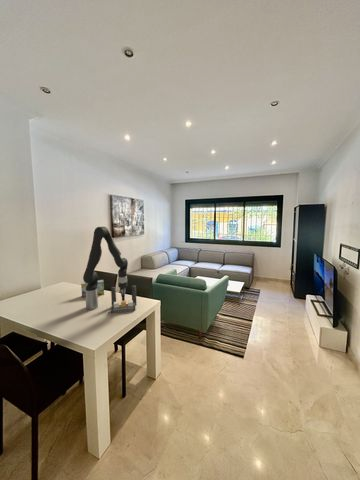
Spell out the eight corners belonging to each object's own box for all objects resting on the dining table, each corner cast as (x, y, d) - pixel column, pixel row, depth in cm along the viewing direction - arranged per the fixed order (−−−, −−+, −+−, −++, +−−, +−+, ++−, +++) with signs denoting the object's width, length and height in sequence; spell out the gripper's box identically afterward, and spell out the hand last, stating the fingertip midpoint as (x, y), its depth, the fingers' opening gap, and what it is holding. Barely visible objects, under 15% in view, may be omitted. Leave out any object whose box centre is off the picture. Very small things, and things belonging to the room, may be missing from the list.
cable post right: (132, 305, 180) (131, 287, 178) (132, 304, 184) (131, 285, 182) (136, 305, 181) (135, 286, 179) (136, 303, 185) (135, 285, 183)
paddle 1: (113, 307, 168) (113, 303, 167) (114, 305, 172) (114, 302, 171) (118, 307, 169) (118, 303, 168) (119, 305, 172) (118, 301, 172)
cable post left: (111, 308, 176) (110, 288, 174) (112, 306, 180) (111, 287, 178) (116, 307, 177) (115, 288, 175) (116, 305, 181) (115, 286, 179)
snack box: (81, 297, 199) (81, 283, 197) (82, 295, 204) (81, 281, 202) (104, 294, 207) (103, 281, 205) (104, 292, 212) (103, 279, 210)
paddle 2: (128, 306, 170) (128, 302, 170) (128, 304, 174) (128, 300, 174) (132, 305, 171) (132, 302, 171) (133, 303, 175) (132, 300, 175)
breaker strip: (111, 313, 166) (111, 308, 166) (112, 309, 173) (112, 304, 172) (135, 310, 171) (135, 305, 170) (135, 307, 177) (135, 302, 177)
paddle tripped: (121, 307, 169) (120, 303, 169) (121, 305, 173) (121, 301, 173) (125, 306, 170) (125, 302, 170) (126, 304, 174) (125, 300, 173)
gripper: (118, 279, 174) (119, 297, 176) (117, 284, 162) (118, 304, 164) (127, 278, 176) (128, 297, 178) (126, 283, 163) (127, 303, 165)
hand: (123, 300), depth 171 cm, fingers closed
